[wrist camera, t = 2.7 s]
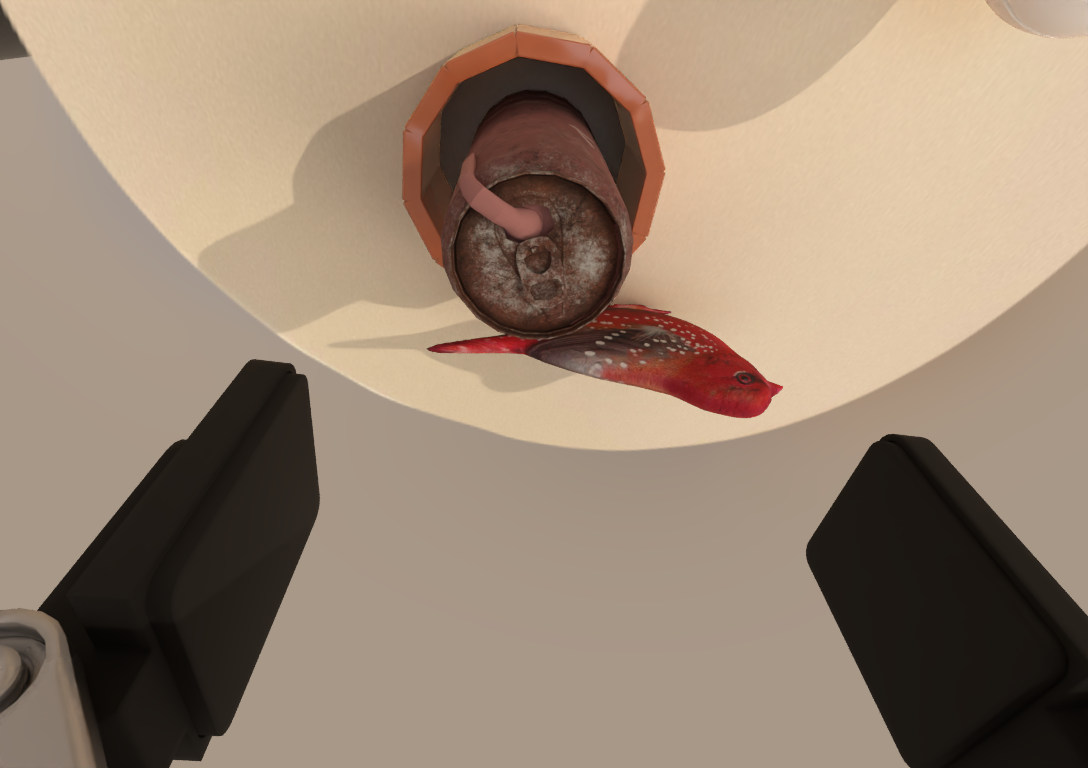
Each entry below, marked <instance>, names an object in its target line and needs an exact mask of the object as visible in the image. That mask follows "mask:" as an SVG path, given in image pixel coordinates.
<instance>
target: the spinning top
mask: <svg viewBox="0 0 1088 768" xmlns="http://www.w3.org/2000/svg"><path fill="white" fill-rule="evenodd" d="M985 1H986V3H987V4H988V5H989V7H990V8H991V9H992V10H993V11H994V12H995V14H996V15H997V16H999V17H1000V18H1001V19H1002V20H1003V21H1005V22H1006V23H1008V24H1009V25H1011V26H1013V27H1015V28H1017V29H1019V30H1022V31H1024V32H1028V33H1031V34H1035V35H1038V36H1042V37H1048V38H1075V37H1083V36H1088V0H985Z"/></svg>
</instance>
